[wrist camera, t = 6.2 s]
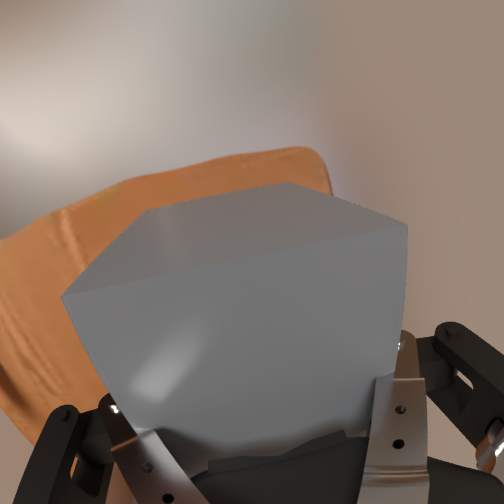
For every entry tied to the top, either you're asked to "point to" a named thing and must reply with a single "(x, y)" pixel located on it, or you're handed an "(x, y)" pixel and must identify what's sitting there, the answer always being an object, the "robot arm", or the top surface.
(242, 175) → the top surface
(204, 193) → the top surface
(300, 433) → the gray tapered block
